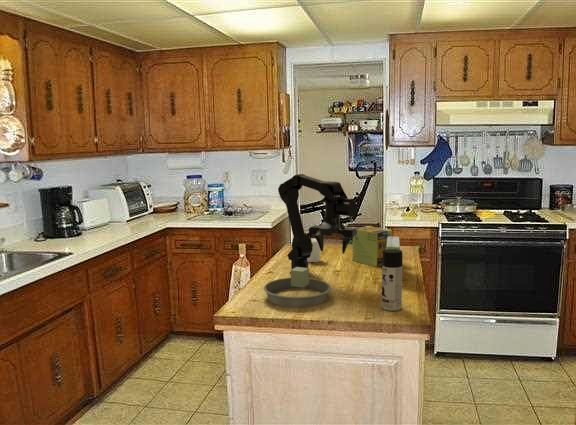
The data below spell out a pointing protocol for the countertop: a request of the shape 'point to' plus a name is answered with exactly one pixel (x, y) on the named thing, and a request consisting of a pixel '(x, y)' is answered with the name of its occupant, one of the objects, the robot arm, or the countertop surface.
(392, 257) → the spray can
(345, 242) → the robot arm
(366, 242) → the protein box
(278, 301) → the cake pan
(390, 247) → the snack box
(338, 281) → the countertop surface
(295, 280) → the olive block
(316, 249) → the white cup
